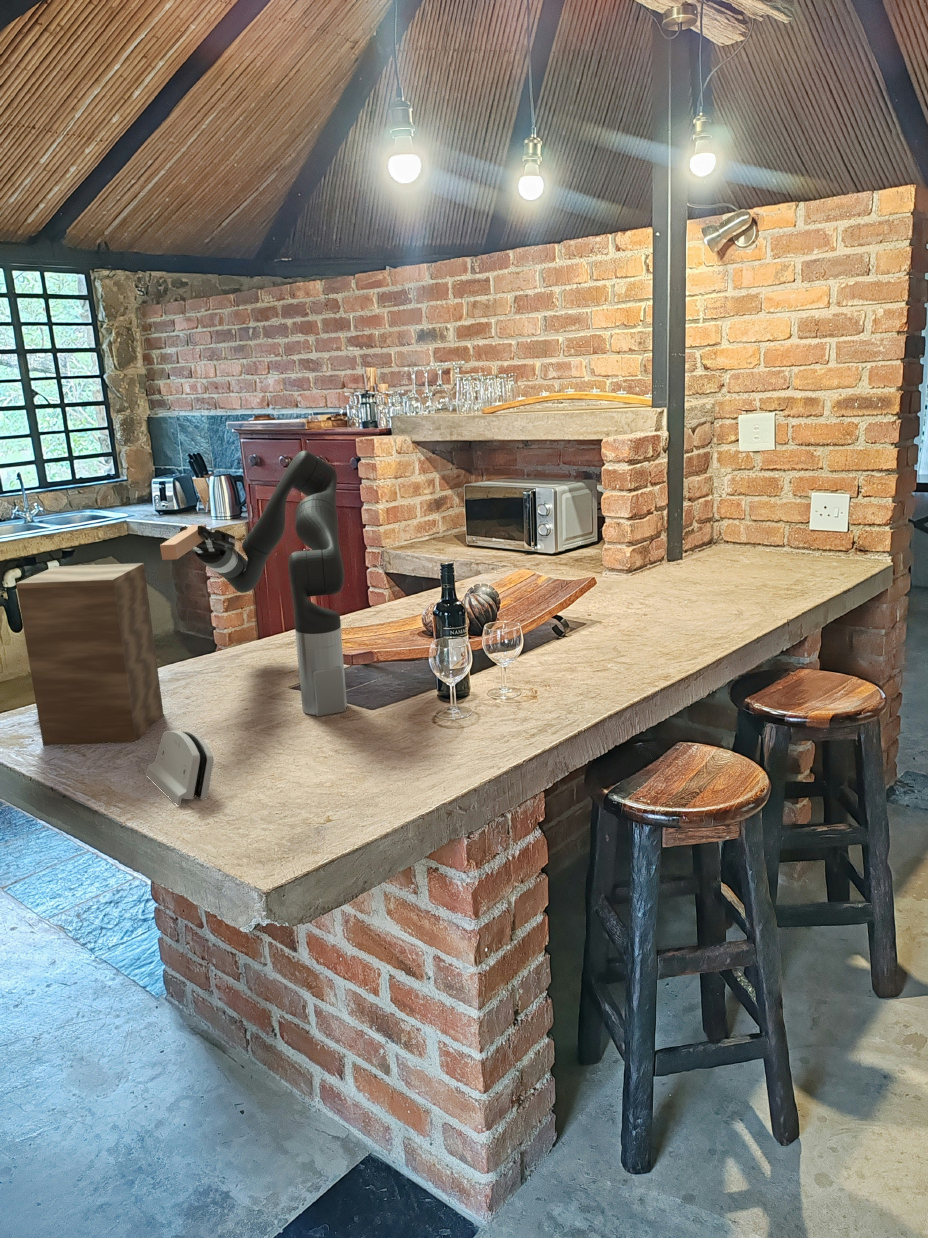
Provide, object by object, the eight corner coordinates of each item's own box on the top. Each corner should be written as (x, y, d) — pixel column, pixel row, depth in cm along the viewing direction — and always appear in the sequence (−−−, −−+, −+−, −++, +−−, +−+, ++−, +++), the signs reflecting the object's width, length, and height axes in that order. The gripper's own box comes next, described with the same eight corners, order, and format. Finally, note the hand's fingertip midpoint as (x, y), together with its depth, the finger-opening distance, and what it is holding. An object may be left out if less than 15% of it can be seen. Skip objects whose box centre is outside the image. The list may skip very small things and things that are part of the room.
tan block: (194, 538, 199) (192, 524, 198) (207, 537, 198) (205, 524, 198) (162, 559, 179) (159, 545, 179) (177, 559, 179) (174, 544, 178)
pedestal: (78, 716, 190) (55, 566, 182) (163, 713, 190) (143, 563, 182) (43, 745, 175) (16, 583, 167) (135, 742, 174) (112, 579, 166)
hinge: (144, 775, 159) (157, 720, 158) (170, 776, 162) (183, 722, 161) (177, 808, 146) (191, 747, 145) (205, 808, 149) (219, 750, 148)
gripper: (187, 539, 210) (159, 514, 193) (247, 536, 210) (224, 511, 193) (186, 570, 209) (157, 548, 192) (246, 567, 208) (223, 545, 191)
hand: (191, 529), depth 192 cm, fingers closed on tan block, 3 cm apart
